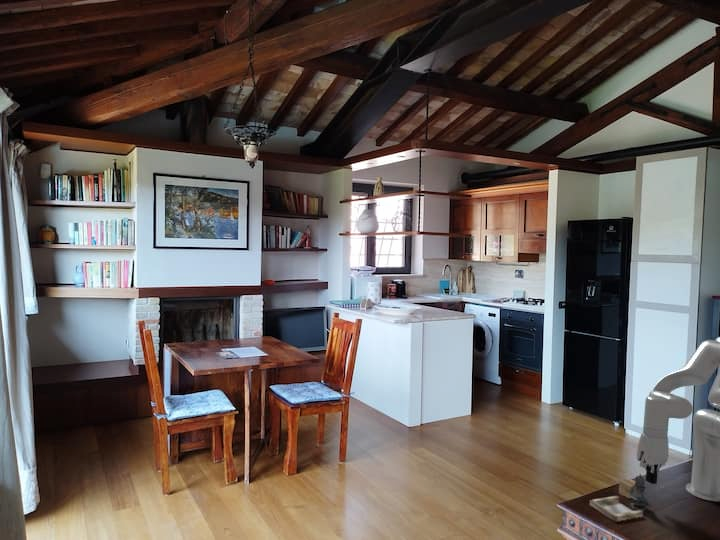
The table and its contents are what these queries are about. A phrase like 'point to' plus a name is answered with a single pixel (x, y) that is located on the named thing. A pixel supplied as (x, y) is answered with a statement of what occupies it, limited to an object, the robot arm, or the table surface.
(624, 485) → the oak block
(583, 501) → the table surface
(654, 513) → the table surface
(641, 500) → the grey chess piece
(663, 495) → the table surface
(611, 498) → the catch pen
